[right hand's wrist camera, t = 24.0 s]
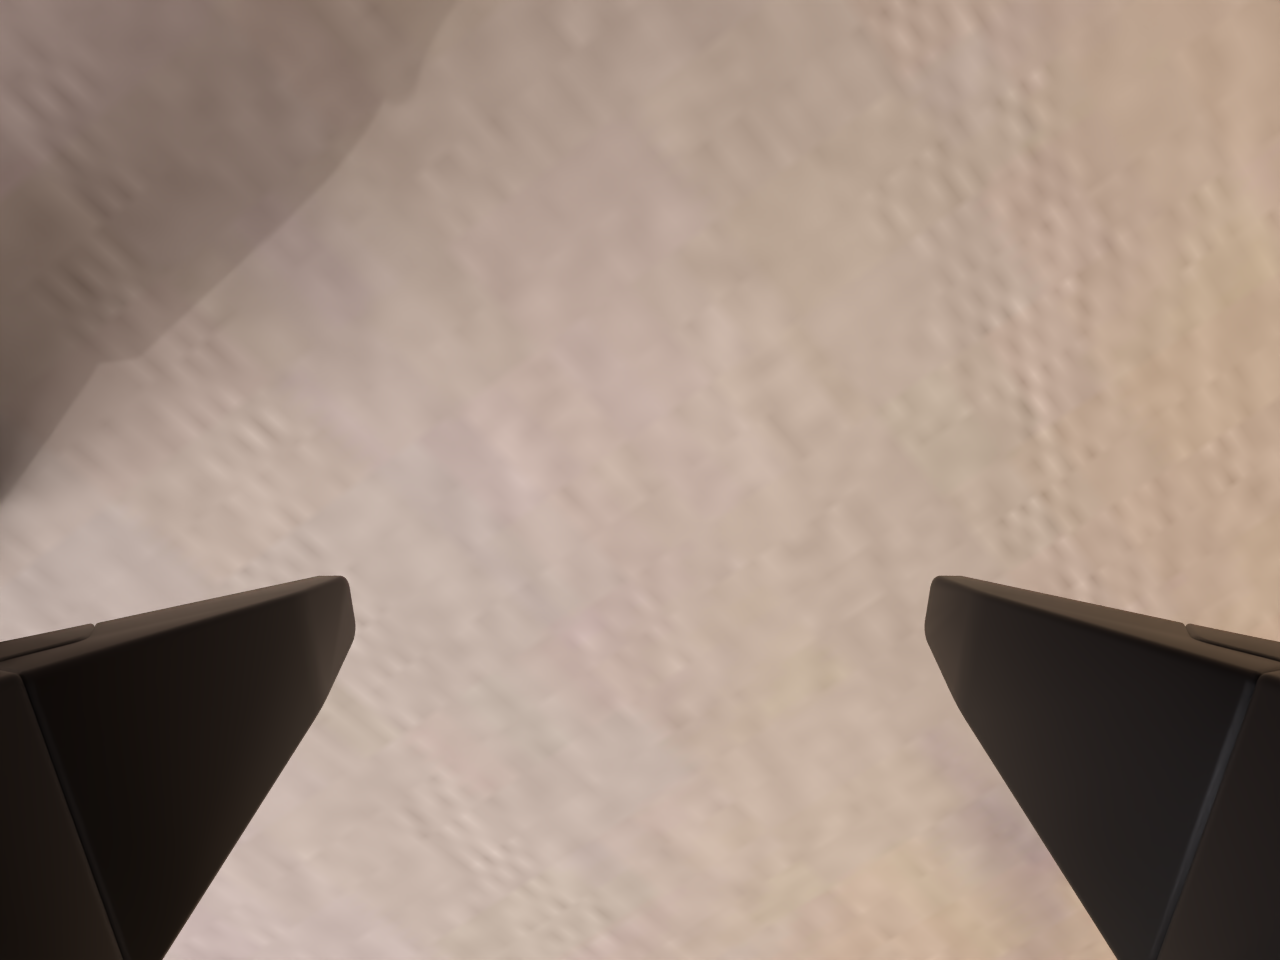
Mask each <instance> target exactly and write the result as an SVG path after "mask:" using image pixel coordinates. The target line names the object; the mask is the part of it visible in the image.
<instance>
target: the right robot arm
mask: <svg viewBox="0 0 1280 960" xmlns="http://www.w3.org/2000/svg"><path fill="white" fill-rule="evenodd" d="M354 636H355V618H354V612H353V606H352V599H351V593H350V587H349V584H348V581H347V579H346V578H345V577H343V576H316V577H311V578H307V579H302V580H297V581H293V582H288V583H283V584H279V585H274V586H269V587H265V588H260V589H255V590H250V591H246V592H241V593H236V594H232V595H227V596H222V597H218V598H213V599H208V600H203V601H199V602H194V603H189V604H185V605H180V606H175V607H171V608H166V609H161V610H156V611H152V612H147V613H142V614H138V615H133V616H128V617H124V618H119V619H114V620H110V621H105V622H100V623H97V624H96V625H95V627H94V625H93V624H86V625H81V626H77V627H72V628H67V629H62V630H57V631H52V632H48V633H43V634H38V635H33V636H28V637H23V638H18V639H13V640H8V641H3V642H0V960H163V958H164V956H165V955H166V953H167V952H168V950H169V949H170V947H171V945H172V944H173V942H174V941H175V939H176V937H177V936H178V934H179V933H180V931H181V930H182V928H183V926H184V925H185V923H186V922H187V920H188V919H189V917H190V915H191V914H192V912H193V911H194V909H195V907H196V906H197V904H198V903H199V901H200V900H201V898H202V896H203V895H204V893H205V892H206V890H207V889H208V887H209V885H210V884H211V882H212V881H213V879H214V878H215V876H216V874H217V873H218V871H219V870H220V868H221V866H222V865H223V863H224V862H225V860H226V859H227V857H228V855H229V854H230V852H231V851H232V849H233V848H234V846H235V844H236V843H237V841H238V840H239V838H240V836H241V835H242V833H243V832H244V830H245V829H246V827H247V825H248V824H249V822H250V821H251V819H252V818H253V816H254V814H255V813H256V811H257V810H258V808H259V807H260V805H261V803H262V802H263V800H264V799H265V797H266V795H267V794H268V792H269V791H270V789H271V788H272V786H273V784H274V783H275V781H276V780H277V778H278V777H279V775H280V773H281V772H282V770H283V769H284V767H285V765H286V764H287V762H288V761H289V759H290V758H291V756H292V754H293V753H294V751H295V750H296V748H297V747H298V745H299V743H300V742H301V740H302V739H303V737H304V736H305V734H306V732H307V731H308V729H309V728H310V726H311V724H312V723H313V721H314V720H315V718H316V716H317V715H318V713H319V711H320V710H321V708H322V706H323V704H324V702H325V700H326V698H327V696H328V694H329V692H330V690H331V688H332V686H333V683H334V681H335V679H336V677H337V675H338V673H339V670H340V668H341V666H342V664H343V662H344V660H345V658H346V655H347V653H348V651H349V649H350V647H351V645H352V642H353V640H354ZM925 636H926V640H927V642H928V645H929V647H930V649H931V651H932V653H933V655H934V658H935V660H936V662H937V664H938V666H939V668H940V670H941V673H942V675H943V677H944V679H945V681H946V683H947V686H948V688H949V690H950V692H951V694H952V696H953V698H954V700H955V702H956V704H957V706H958V708H959V710H960V711H961V713H962V715H963V716H964V718H965V720H966V721H967V723H968V724H969V726H970V728H971V729H972V731H973V732H974V734H975V735H976V737H977V739H978V740H979V742H980V743H981V745H982V747H983V748H984V750H985V751H986V753H987V754H988V756H989V758H990V759H991V761H992V762H993V764H994V765H995V767H996V769H997V770H998V772H999V773H1000V775H1001V776H1002V778H1003V780H1004V781H1005V783H1006V784H1007V786H1008V787H1009V789H1010V791H1011V792H1012V794H1013V795H1014V797H1015V799H1016V800H1017V802H1018V803H1019V805H1020V806H1021V808H1022V810H1023V811H1024V813H1025V814H1026V816H1027V817H1028V819H1029V821H1030V822H1031V824H1032V825H1033V827H1034V829H1035V830H1036V832H1037V833H1038V835H1039V836H1040V838H1041V840H1042V841H1043V843H1044V844H1045V846H1046V847H1047V849H1048V851H1049V852H1050V854H1051V855H1052V857H1053V859H1054V860H1055V862H1056V863H1057V865H1058V866H1059V868H1060V870H1061V871H1062V873H1063V874H1064V876H1065V877H1066V879H1067V881H1068V882H1069V884H1070V885H1071V887H1072V889H1073V890H1074V892H1075V893H1076V895H1077V896H1078V898H1079V900H1080V901H1081V903H1082V904H1083V906H1084V907H1085V909H1086V911H1087V912H1088V914H1089V915H1090V917H1091V918H1092V920H1093V922H1094V923H1095V925H1096V926H1097V928H1098V930H1099V931H1100V933H1101V934H1102V936H1103V937H1104V939H1105V941H1106V942H1107V944H1108V945H1109V947H1110V948H1111V950H1112V952H1113V953H1114V955H1115V956H1116V958H1117V960H1280V642H1277V641H1272V640H1267V639H1262V638H1257V637H1252V636H1247V635H1242V634H1237V633H1232V632H1228V631H1223V630H1218V629H1213V628H1208V627H1203V626H1199V625H1194V624H1187V625H1186V627H1185V625H1184V624H1183V623H1180V622H1176V621H1171V620H1166V619H1161V618H1157V617H1152V616H1147V615H1143V614H1138V613H1133V612H1129V611H1124V610H1119V609H1114V608H1110V607H1105V606H1100V605H1096V604H1091V603H1086V602H1081V601H1077V600H1072V599H1067V598H1063V597H1058V596H1053V595H1049V594H1044V593H1039V592H1034V591H1030V590H1025V589H1020V588H1016V587H1011V586H1006V585H1001V584H997V583H992V582H987V581H983V580H978V579H973V578H969V577H964V576H937V577H935V578H934V579H933V581H932V584H931V587H930V593H929V599H928V606H927V612H926V618H925Z"/></svg>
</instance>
